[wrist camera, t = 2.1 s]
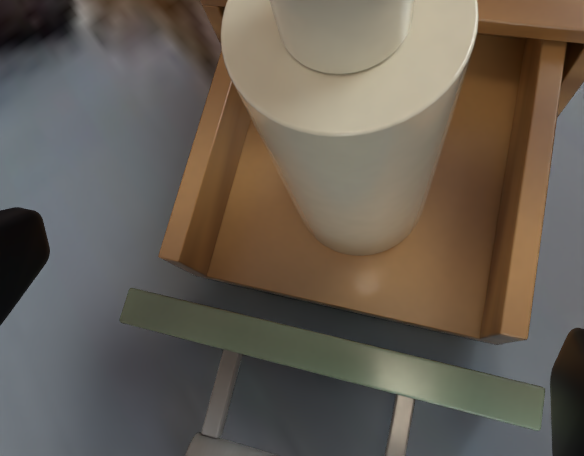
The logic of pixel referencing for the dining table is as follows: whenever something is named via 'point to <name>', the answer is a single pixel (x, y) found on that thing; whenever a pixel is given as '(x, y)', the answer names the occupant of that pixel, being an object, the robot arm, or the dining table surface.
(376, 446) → the dining table surface
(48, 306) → the dining table surface
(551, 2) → the wooden box
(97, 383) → the dining table surface
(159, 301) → the drawer
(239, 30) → the bottle
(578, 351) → the robot arm
